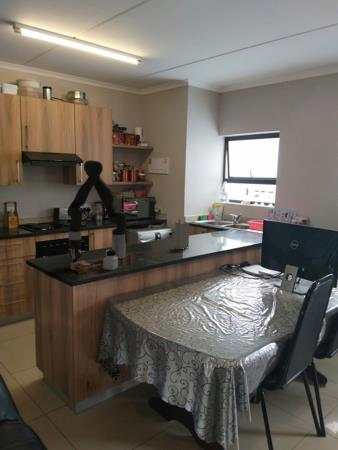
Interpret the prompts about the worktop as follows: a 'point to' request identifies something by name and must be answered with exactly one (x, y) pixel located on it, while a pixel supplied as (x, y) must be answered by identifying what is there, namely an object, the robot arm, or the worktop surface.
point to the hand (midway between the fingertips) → (75, 264)
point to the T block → (79, 264)
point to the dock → (88, 268)
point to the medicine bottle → (110, 260)
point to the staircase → (181, 235)
